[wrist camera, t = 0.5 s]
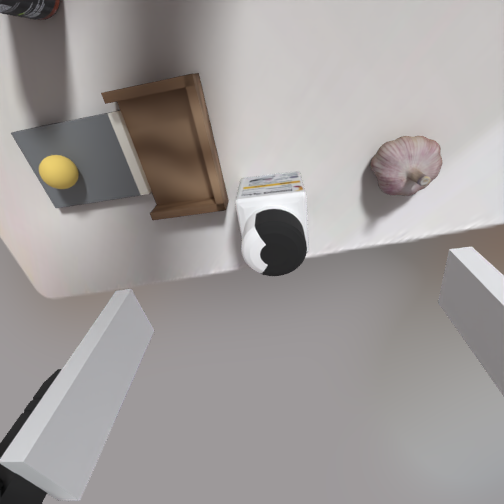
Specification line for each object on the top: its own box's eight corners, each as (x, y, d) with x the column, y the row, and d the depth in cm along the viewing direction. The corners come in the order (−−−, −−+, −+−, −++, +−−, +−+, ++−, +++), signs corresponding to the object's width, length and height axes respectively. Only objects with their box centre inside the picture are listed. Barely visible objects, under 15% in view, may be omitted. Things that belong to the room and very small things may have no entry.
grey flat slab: (18, 130, 35) (10, 132, 34) (121, 110, 33) (117, 111, 32) (61, 204, 40) (55, 208, 39) (152, 190, 38) (149, 194, 37)
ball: (46, 154, 35) (23, 163, 32) (75, 148, 35) (54, 157, 31) (63, 184, 37) (43, 196, 34) (90, 180, 37) (72, 191, 34)
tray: (114, 91, 32) (101, 93, 30) (198, 73, 31) (192, 73, 28) (160, 210, 40) (152, 220, 38) (228, 200, 39) (225, 210, 36)
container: (300, 169, 36) (312, 214, 25) (303, 223, 40) (315, 282, 29) (240, 177, 37) (227, 223, 26) (249, 229, 41) (241, 288, 30)
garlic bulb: (355, 160, 35) (376, 182, 28) (411, 112, 32) (448, 125, 25) (389, 200, 37) (415, 229, 31) (444, 160, 34) (485, 183, 28)
